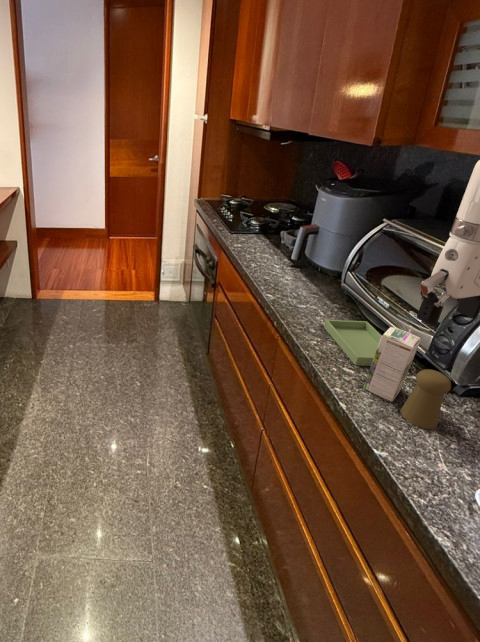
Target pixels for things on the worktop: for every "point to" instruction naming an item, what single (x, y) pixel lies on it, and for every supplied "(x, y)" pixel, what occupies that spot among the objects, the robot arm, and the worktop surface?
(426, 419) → the cork
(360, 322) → the spice tray
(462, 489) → the worktop surface
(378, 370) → the syrup box
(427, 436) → the worktop surface
